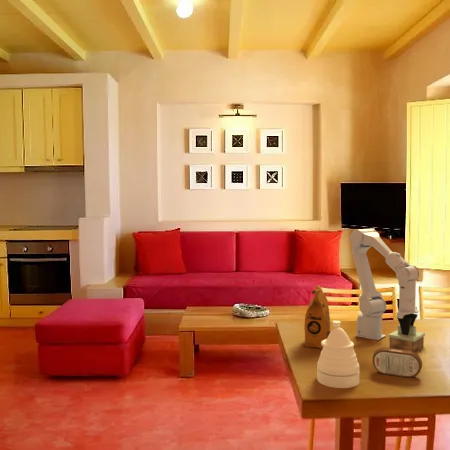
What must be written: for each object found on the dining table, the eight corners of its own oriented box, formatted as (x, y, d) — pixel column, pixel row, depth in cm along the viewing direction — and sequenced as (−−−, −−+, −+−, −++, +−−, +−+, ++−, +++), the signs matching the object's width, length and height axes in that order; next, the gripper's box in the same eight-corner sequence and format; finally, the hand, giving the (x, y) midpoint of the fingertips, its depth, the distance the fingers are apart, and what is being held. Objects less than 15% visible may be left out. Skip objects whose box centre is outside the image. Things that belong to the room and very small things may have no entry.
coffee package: (300, 347, 191) (300, 289, 190) (308, 338, 202) (308, 284, 201) (326, 350, 187) (327, 291, 186) (332, 341, 198) (333, 285, 197)
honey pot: (312, 373, 162) (312, 318, 161) (351, 372, 163) (352, 317, 162) (323, 388, 150) (323, 329, 149) (365, 387, 150) (365, 328, 149)
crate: (389, 348, 189) (389, 337, 189) (400, 342, 196) (400, 332, 196) (413, 352, 183) (413, 342, 183) (423, 346, 190) (423, 336, 190)
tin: (422, 377, 159) (422, 351, 158) (421, 380, 156) (421, 353, 155) (373, 370, 165) (373, 345, 165) (371, 373, 162) (371, 347, 162)
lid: (388, 339, 189) (388, 326, 188) (399, 333, 197) (400, 321, 196) (414, 343, 182) (414, 330, 182) (424, 337, 190) (424, 325, 190)
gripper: (410, 302, 180) (409, 339, 181) (425, 296, 191) (424, 331, 192) (391, 300, 185) (391, 336, 186) (406, 294, 196) (406, 328, 197)
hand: (406, 333), depth 189 cm, fingers closed on lid, 2 cm apart
